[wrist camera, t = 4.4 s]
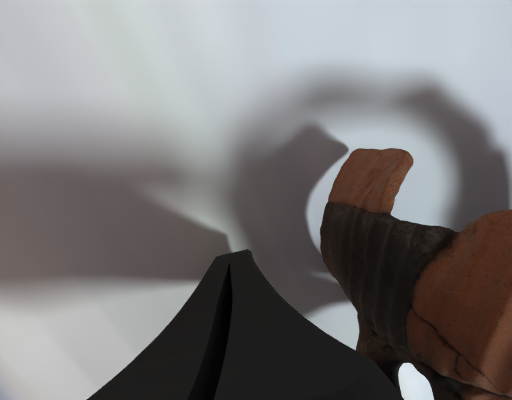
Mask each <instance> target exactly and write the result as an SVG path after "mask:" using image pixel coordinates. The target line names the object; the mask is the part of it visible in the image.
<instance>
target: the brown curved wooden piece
mask: <svg viewBox="0 0 512 400" xmlns="http://www.w3.org/2000/svg"><path fill="white" fill-rule="evenodd" d="M412 165H413V158H412V156H411V155H410V153H409V152H407V151H405V150H402V149H394V148H389V149H384V150H378V149H360V148H359V149H356V150H354V151H353V152H352V153H351V154H350V156H349V158H348V159H347V160H346V161H345V163H344V164H343V165H342V167H341V169H340V171H339V173H338V176H337V177H336V179H335V181H334V183H333V187H332V190H331V192H330V194H329V198H328V202H327V204H326V206H325V210H324V215H323V221H322V225H321V228H320V236H321V245H320V249H321V254H322V258H323V261H324V263H325V264H326V266H327V268H328V269H329V271H330V272H331V274H332V275H333V276H334V277H335V279H336V280H337V281H338V283H339V284H340V286H341V288H342V289H343V291H344V292H345V294H346V295H347V296H348V298H349V300H350V301H351V302H352V304H353V306H354V307H355V309H356V311H357V312H358V314H357V318H358V323H359V338H358V342H357V346H356V351H357V352H359V353H361V354H363V355H365V356H367V357H369V358H371V359H372V360H373V361H374V362H375V363H376V364H377V366H378V367H379V368H380V369H381V370H382V371H383V373H384V374H385V375H386V376H387V378H388V379H389V380H390V381H391V383H392V384H393V385H394V386H395V388H396V389H397V390H398V392H399V393H400V395H401V390H400V386H399V379H398V372H399V368H400V367H401V365H402V364H403V363H411V364H413V365H414V367H415V368H416V369H417V371H419V372H420V373H421V374H422V375H424V376H425V377H426V378H427V380H428V381H429V383H430V385H431V388H432V392H433V396H434V400H512V210H502V211H498V212H491V213H488V214H486V215H484V216H482V217H481V218H479V219H477V220H475V221H474V222H472V223H470V224H469V225H467V226H466V228H465V229H463V230H462V231H461V232H455V231H453V230H451V229H449V228H445V227H441V226H429V225H422V224H417V223H412V222H408V221H402V220H399V219H397V218H394V217H393V216H391V214H390V213H391V210H392V208H393V205H394V200H395V196H396V194H397V193H398V191H399V188H400V186H401V184H402V182H403V180H404V178H405V176H406V174H407V173H408V171H409V169H410V168H411V166H412ZM401 396H402V395H401Z"/></svg>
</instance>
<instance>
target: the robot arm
mask: <svg viewBox="0 0 512 400" xmlns="http://www.w3.org/2000/svg"><path fill="white" fill-rule="evenodd" d="M87 400H404V399H403V397H402V396H401V395H400V393H399V392H398V390H397V389H396V388H395V386H394V385H393V384H392V383H391V381H390V380H389V379H388V378H387V376H386V375H385V374H384V373H383V371H382V370H381V369H380V368H379V367H378V366H377V364H376V363H375V362H374V361H373V360H372V359H371V358H369V357H367V356H365V355H363V354H361V353H359V352H357V351H355V350H354V349H352V348H350V347H348V346H346V345H345V344H343V343H341V342H339V341H338V340H336V339H335V338H333V337H332V336H330V335H328V334H327V333H325V332H324V331H322V330H321V329H320V328H318V327H317V326H315V325H314V324H313V323H311V322H310V321H309V320H307V319H306V318H305V317H303V316H302V315H301V314H299V313H298V312H297V311H296V310H295V309H294V308H293V307H291V306H290V305H289V304H288V303H287V302H286V301H285V300H284V299H283V298H282V297H281V296H280V295H279V294H278V293H277V292H276V291H275V289H274V288H273V287H272V286H271V285H270V284H269V282H268V281H267V280H266V278H265V277H264V276H263V274H262V273H261V271H260V270H259V268H258V267H257V265H256V263H255V261H254V259H253V255H252V252H251V251H250V250H248V249H246V250H242V251H238V252H234V253H230V254H226V255H222V256H218V257H216V258H215V260H214V261H213V263H212V264H211V266H210V267H209V269H208V271H207V272H206V274H205V275H204V277H203V279H202V280H201V282H200V283H199V285H198V286H197V288H196V289H195V291H194V292H193V294H192V295H191V296H190V298H189V299H188V300H187V302H186V303H185V304H184V306H183V307H182V308H181V310H180V311H179V312H178V314H177V315H176V316H175V317H174V318H173V320H172V321H171V322H170V323H169V324H168V325H167V326H166V328H165V329H164V330H163V331H162V332H161V333H160V334H159V335H158V336H157V337H156V338H155V340H154V341H152V342H151V343H150V344H149V345H148V346H147V347H146V348H145V349H144V350H143V351H142V352H141V353H140V354H139V355H138V356H137V357H136V358H135V359H134V360H133V361H132V362H131V363H130V364H129V365H128V366H126V367H125V368H124V369H123V370H122V371H121V372H120V373H118V374H117V375H116V376H115V377H114V378H113V379H112V380H110V381H109V382H108V383H107V384H105V385H104V386H103V387H102V388H101V389H99V390H98V391H97V392H96V393H95V394H93V395H92V396H91V397H90V398H88V399H87Z"/></svg>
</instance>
